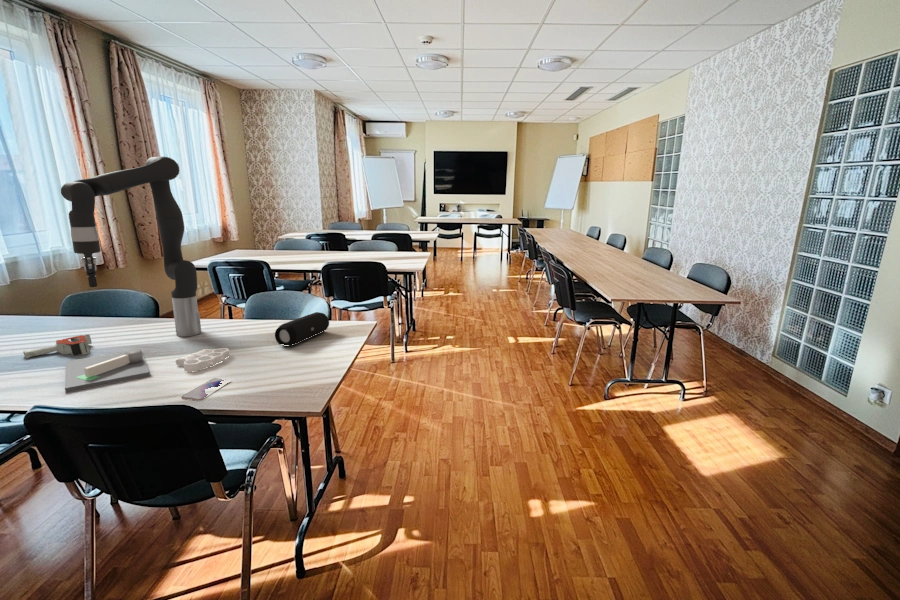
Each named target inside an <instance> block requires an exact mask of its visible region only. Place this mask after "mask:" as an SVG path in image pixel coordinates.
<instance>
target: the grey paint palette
mask: <svg viewBox="0 0 900 600" xmlns="http://www.w3.org/2000/svg"><path fill="white" fill-rule="evenodd" d="M228 356H230V349H229V348H227V347H220V348H214V349H208V348H203V349H201V350H198V351H196V352H194V353H191V354H188V355H185V356H183V357H179V358H177V359H176V360H175V364H176V365H177V366H178V365H179V367H183V368H184V372H186V371H187V372H186V373H193V372H192V371H197V372H199V371H198V370H200V369H202V370H204V369H203V368H206V367H210V366H213V365H215V364H216V363H219V362H221V361H224V362H225V361H227V359H225V358H226V357H228ZM230 357H231V356H230ZM215 366H216V365H215ZM206 369H207V368H206ZM200 371H201V370H200Z"/></svg>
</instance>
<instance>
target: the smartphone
mask: <svg viewBox="0 0 900 600" xmlns="http://www.w3.org/2000/svg"><path fill="white" fill-rule="evenodd" d="M222 379H223V378H214V377H213V378H211V379H210V380H208V381H206V382H205V383H202V384H200V385H199V386H197V387H195V388H194V389H192V390H190V391H188V392H186V393H185V394H183V395H182V396H181V398H182V400H187V399H192V400H191V401H195V400H201V401H203V400H204V399H203V398H204V397H206V396H207V395H208V394H206V393H205V389H208V388H211V387H218V386H220V385H219V384H222V383H220V382H221V381H224V380H222ZM206 398H207V397H206ZM202 399H203V400H202Z"/></svg>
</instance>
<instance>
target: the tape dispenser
mask: <svg viewBox="0 0 900 600" xmlns="http://www.w3.org/2000/svg"><path fill="white" fill-rule="evenodd" d="M92 342H93V341H92V338H91V334H84V335H83V334H82V335H81V334H79V335H76V336H71V337H66V338H63V339H62V338H61V339H57V340H56V341H55V344H53V345H51V346H45V347H40V348H34V349H31V350H23V356H24V357H25V358H26V359H30V358H33V357H38V356H41V355H47V354H50V353H54V352H57V353H59V354H60V353H61V355H67V354H68V355H73V356H76V355H77V356H81V355H82V354H83V355H89V354H90V352H91V349H90V346H89V345H92ZM88 353H89V354H88ZM83 355H82V356H83Z"/></svg>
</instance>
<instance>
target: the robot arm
mask: <svg viewBox="0 0 900 600" xmlns="http://www.w3.org/2000/svg"><path fill="white" fill-rule="evenodd" d="M179 174H180V166H179V164H178V162H176V160H174V159H173V158H171V157H168V156H151V157H149V158H147V160H146V162H145V164H144V165H142V166H138V167H134V168H128V169H122V170H117V171H116V170H115V171H112V172H108V173H103V174H99V175H95V176H93V177H88V178H83V179H77V180H73V181H69V182H66V183H64V184H63V185H62V186H61V188H60V194H61V196H62V197H63V199H65V200H67V201H68V202H71V210H70V211H69V212H68V219H69V225H70V236H71V237H70V238H71V242H72V248H73V253H74V254H77V255H79V254H80V255H84V257H81V263H82V264H83V268H84V272H86V277H87V279H88V280H87V281H88V284H89V286H88V287H90V288H96V287H98V282H97V272H96V271H97V258H96V256H93V254H96V253H97V254H98V253H100V252H102V251H101V244H100V239H99V233H98V230H97V229H98V228H97V225H96V218H95V208H96V197H99V196H108V195H112V194H116V193H119V192H122V191H125V190H128V189H131V188H135V187H138V186H141V185H144V184H145V185H146V184H149V186H150V190H151V194H152V198H153V205H154V208H155V209H154V210H155V214H156V215H155V216H156V221H157V226H158V231H159V236H160V240H161V246H162V255H163V268H164V273H165V275H166V276H167V277H168V278H169V279H171V280H173V281H175V283H174V284H175V287H174V289H172V290H171V293H170V295H171V302H172V309H173V319H174V324H175V325H174V326H175V333H176V334H175V335H176V336H177V337H179V338H180V337H182V338H184V337H193V336H197V335H199V334H202V325H201V318H200V317H201V315H200V312H199V308H198V300H197V290H198V273H197V269H196V266H195V264H194V263H193V262H192V261H191V260H185V259H184V257H183V252H182V241H183V237H184V234H185V224H184V223H185V222H184V216H183V213H182V210H181V208H180V205H179V204H178V203H177V201H176V199H175V197H174V196H173V193H172V188H171V185H170V181H172V180H174V179H176V178H177V177H178V176H179Z"/></svg>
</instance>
